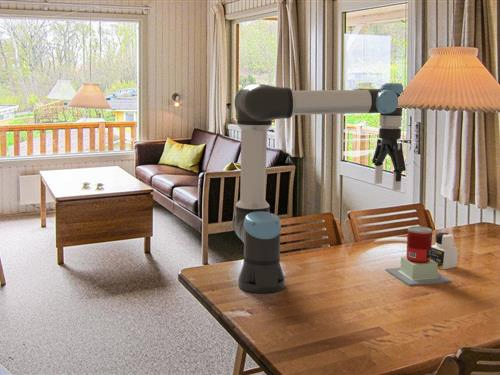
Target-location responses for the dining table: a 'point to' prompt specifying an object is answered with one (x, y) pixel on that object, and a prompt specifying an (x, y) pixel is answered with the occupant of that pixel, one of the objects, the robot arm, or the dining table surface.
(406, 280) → the plate
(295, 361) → the dining table surface
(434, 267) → the block
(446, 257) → the medicine bottle
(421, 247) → the canned food
